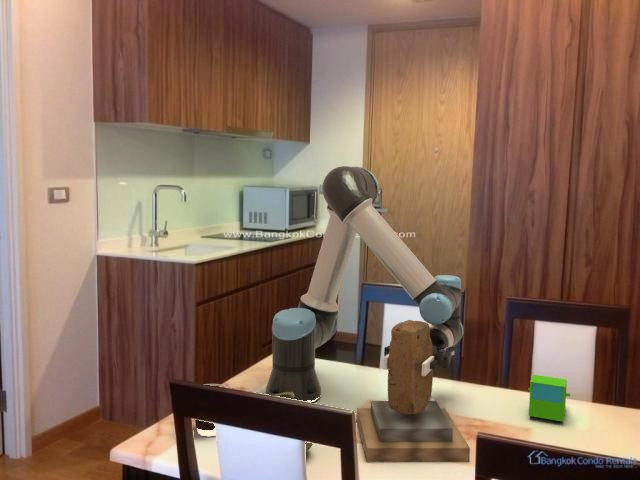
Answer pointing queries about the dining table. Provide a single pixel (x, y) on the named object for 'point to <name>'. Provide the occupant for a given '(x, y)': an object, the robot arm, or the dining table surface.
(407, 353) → the block
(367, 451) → the tower base
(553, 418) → the toy car
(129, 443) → the dining table surface
